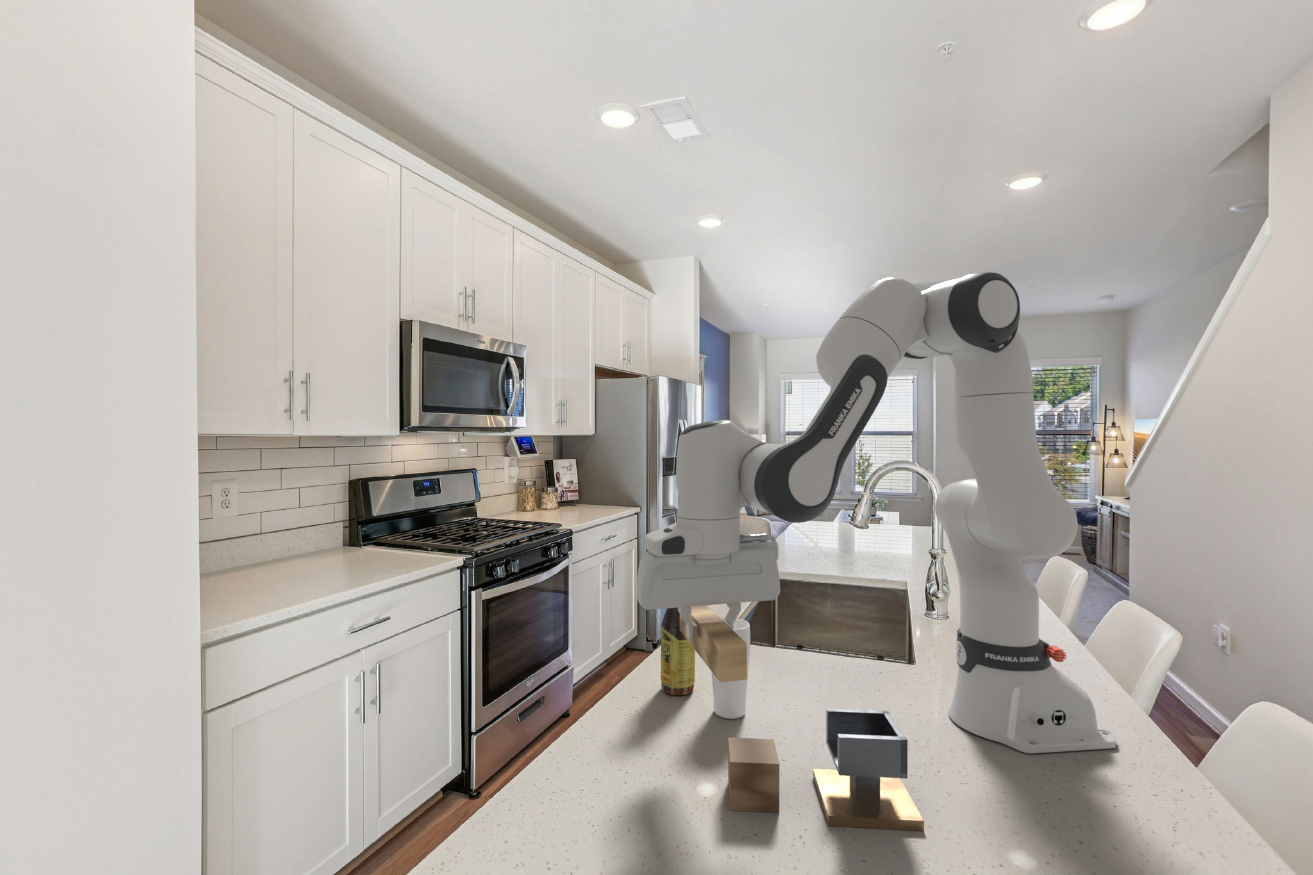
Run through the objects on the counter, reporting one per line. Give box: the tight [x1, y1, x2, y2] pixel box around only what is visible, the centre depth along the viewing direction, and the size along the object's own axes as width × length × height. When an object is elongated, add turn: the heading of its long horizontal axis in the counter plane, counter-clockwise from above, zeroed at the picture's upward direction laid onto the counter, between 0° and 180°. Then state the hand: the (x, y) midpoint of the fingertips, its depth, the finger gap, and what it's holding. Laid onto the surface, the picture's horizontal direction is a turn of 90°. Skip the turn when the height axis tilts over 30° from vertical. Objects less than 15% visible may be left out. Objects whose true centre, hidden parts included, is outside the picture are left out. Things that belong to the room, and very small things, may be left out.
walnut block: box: [727, 736, 780, 814], centre depth 76 cm, size 6×6×6 cm
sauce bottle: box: [660, 608, 696, 696], centre depth 108 cm, size 7×6×20 cm
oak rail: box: [680, 605, 748, 682], centre depth 83 cm, size 20×4×4 cm, turn 12°
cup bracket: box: [812, 708, 925, 832], centre depth 75 cm, size 11×10×10 cm
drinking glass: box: [710, 617, 751, 720], centre depth 99 cm, size 7×7×15 cm
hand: (709, 635), depth 83 cm, fingers closed on oak rail, 3 cm apart
